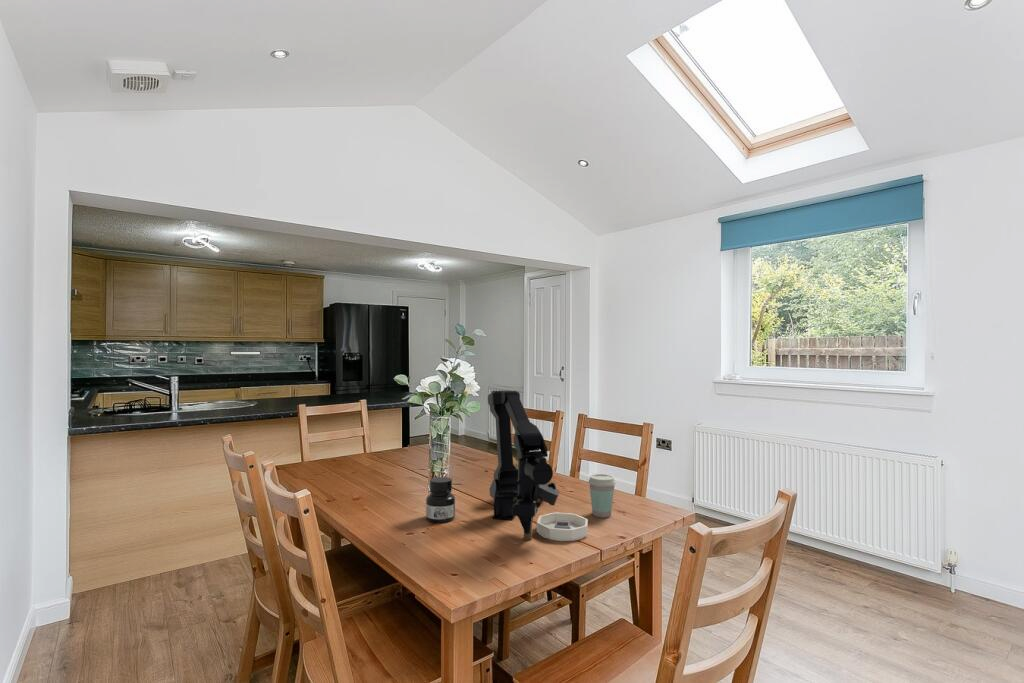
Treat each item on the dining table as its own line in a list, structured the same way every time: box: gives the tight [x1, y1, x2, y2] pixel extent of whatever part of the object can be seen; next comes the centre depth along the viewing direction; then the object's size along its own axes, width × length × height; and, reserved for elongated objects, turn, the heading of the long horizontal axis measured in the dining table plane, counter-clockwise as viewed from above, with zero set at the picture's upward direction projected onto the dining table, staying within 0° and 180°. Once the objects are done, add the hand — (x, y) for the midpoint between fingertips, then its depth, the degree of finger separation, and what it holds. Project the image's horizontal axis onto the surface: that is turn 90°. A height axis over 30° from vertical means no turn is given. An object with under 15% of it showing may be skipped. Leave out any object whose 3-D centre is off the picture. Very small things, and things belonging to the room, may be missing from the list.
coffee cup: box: [587, 473, 616, 518], centre depth 162 cm, size 8×9×12 cm
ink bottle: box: [425, 476, 456, 523], centre depth 158 cm, size 10×9×12 cm
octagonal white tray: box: [536, 511, 589, 542], centre depth 147 cm, size 14×14×3 cm
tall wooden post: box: [523, 521, 533, 541], centre depth 141 cm, size 2×2×8 cm
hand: (527, 531), depth 141 cm, fingers closed on tall wooden post, 2 cm apart
